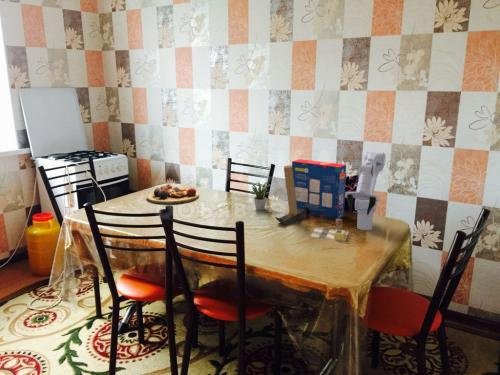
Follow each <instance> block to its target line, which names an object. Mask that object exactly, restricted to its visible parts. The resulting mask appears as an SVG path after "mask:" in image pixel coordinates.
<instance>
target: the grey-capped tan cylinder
mask: <svg viewBox="0 0 500 375" xmlns="http://www.w3.org/2000/svg"><path fill="white" fill-rule="evenodd" d="M336 230H343V219H342V218H339V219H335V231H336Z"/></svg>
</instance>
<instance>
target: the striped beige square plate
mask: <svg viewBox="0 0 500 375" xmlns="http://www.w3.org/2000/svg"><path fill="white" fill-rule="evenodd" d="M335 230H336V228H334V229H333V228H322V227H315V228H314V229H313V231H312V232H311V234H310V235H309V238H313V239H324V240H330V241H331V240H332V241H336V240H335V239H334V233H335ZM349 233H350V231H349V230H345V237H344V239H343V240H339V242H340V241H341V242H346V240H347V237H348V235H349Z"/></svg>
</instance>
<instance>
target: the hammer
mask: <svg viewBox="0 0 500 375" xmlns="http://www.w3.org/2000/svg"><path fill="white" fill-rule="evenodd" d="M283 172H284V179H285V180H284V181H285V187H286V188H285V189H286V195H287V203H288V205H287V206H288V211H289V212H288V213H287V214H285V215H283V216H281V217H276V216H275V217H274V218H275V219H276V221H278V222H279V223H281V224H284V225H286V226H287V225H291V224H294V223H297V222H300V221H302V220H304V219H306V218H307V216H308V215H311V214H310V210H309V208H308V207H304V208H303V209H300V208H298V209H297V203H296V195H295V187H294V178H293V170H292V164H291V165H290V164H289V165H288V164H287V165H284V166H283Z"/></svg>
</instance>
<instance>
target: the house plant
mask: <svg viewBox="0 0 500 375" xmlns="http://www.w3.org/2000/svg"><path fill="white" fill-rule="evenodd" d="M268 182H269V180H268V181H265V182H264V184H263V185H261V183H260V181H256V183H257V185H258V187H257V186H256V185H255V184H253V183H251V182H250V184H251V188H252V193H253V194H251V196H254V197H253V202H254V205H255V209H256V210H257V211H264V210H265V208H266V202H267V197H265V196H270V195H271V192H269V191H267V190H268V187H269V186H272V185H273V183H271V184H268ZM266 191H267V192H266Z"/></svg>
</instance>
